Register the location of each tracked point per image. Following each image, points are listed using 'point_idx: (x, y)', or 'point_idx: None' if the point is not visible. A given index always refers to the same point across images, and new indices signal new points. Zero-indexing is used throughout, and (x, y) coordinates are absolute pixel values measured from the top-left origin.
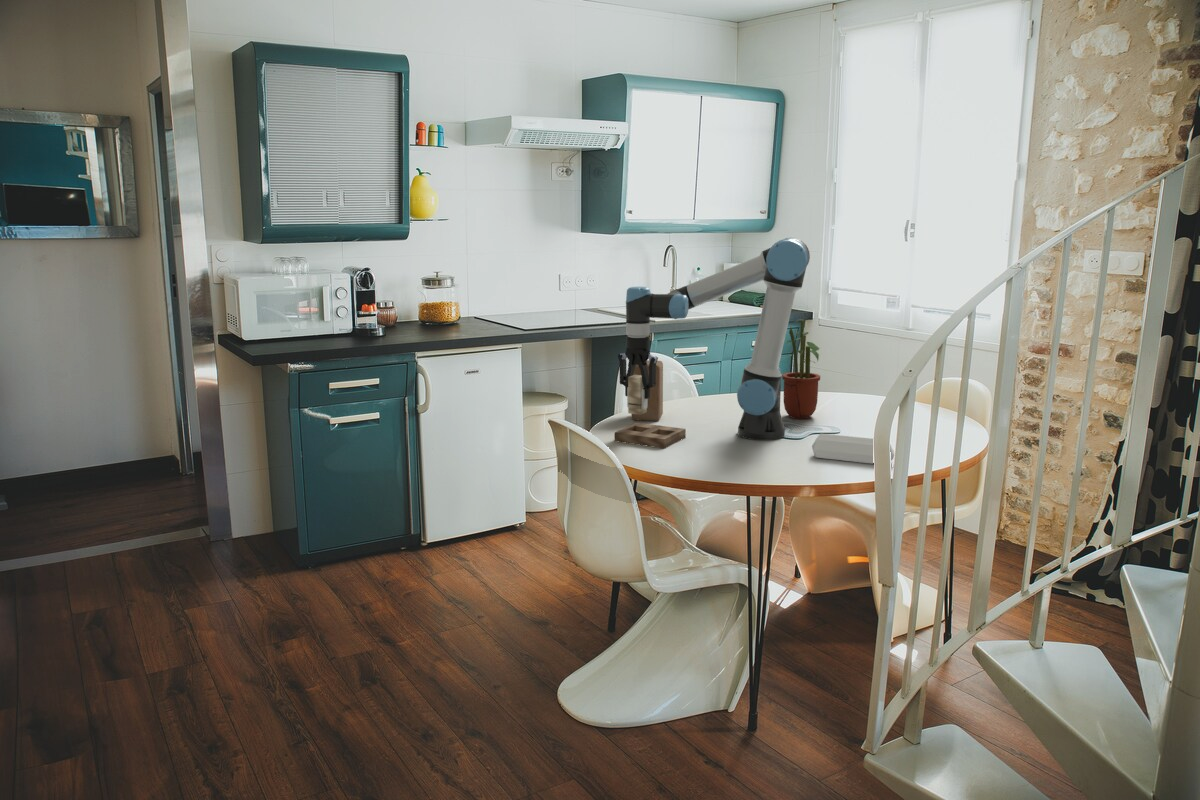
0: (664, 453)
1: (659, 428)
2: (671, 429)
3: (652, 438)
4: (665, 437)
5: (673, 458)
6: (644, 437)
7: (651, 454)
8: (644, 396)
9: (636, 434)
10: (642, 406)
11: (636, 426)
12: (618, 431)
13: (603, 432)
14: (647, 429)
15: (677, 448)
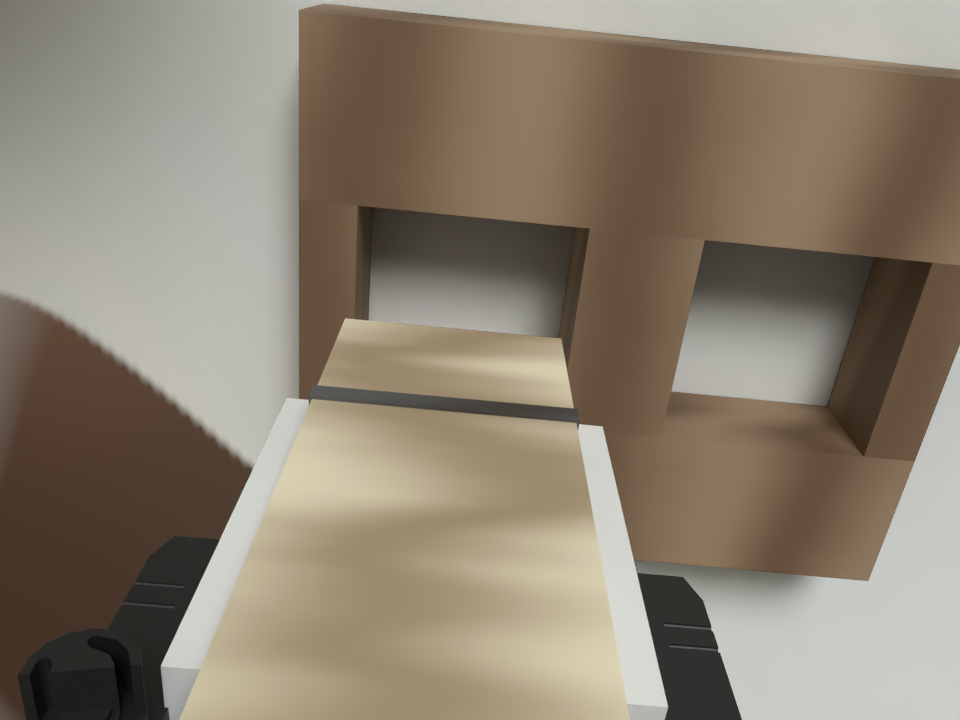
0: (862, 633)
1: (706, 205)
2: (870, 196)
3: (734, 562)
4: (865, 525)
5: (956, 712)
6: (645, 555)
7: (765, 682)
8: None
9: None
10: None
11: (389, 208)
12: None
13: (17, 213)
14: (578, 304)
15: (951, 479)
